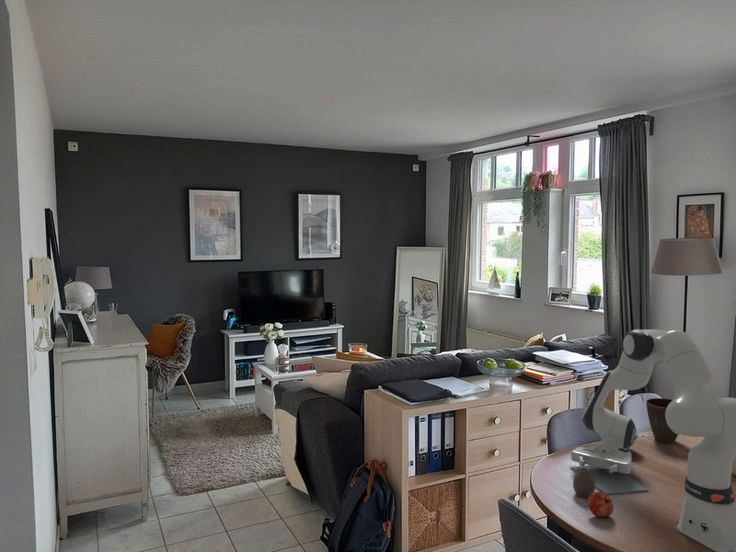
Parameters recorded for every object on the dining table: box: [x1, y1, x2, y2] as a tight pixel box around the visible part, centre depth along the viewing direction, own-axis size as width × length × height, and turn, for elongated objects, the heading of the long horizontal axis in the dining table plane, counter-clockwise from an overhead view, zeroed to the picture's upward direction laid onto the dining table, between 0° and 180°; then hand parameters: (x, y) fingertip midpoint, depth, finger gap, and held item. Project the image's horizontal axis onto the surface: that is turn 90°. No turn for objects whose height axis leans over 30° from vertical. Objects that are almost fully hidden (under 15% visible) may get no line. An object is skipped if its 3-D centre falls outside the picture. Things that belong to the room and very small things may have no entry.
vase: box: [572, 468, 596, 499], centre depth 194 cm, size 7×7×9 cm
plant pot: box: [645, 397, 679, 445], centre depth 244 cm, size 15×15×16 cm
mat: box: [570, 465, 649, 496], centre depth 206 cm, size 22×16×1 cm
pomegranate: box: [587, 491, 615, 518], centre depth 180 cm, size 7×7×10 cm
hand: (595, 467), depth 203 cm, fingers open, 8 cm apart
